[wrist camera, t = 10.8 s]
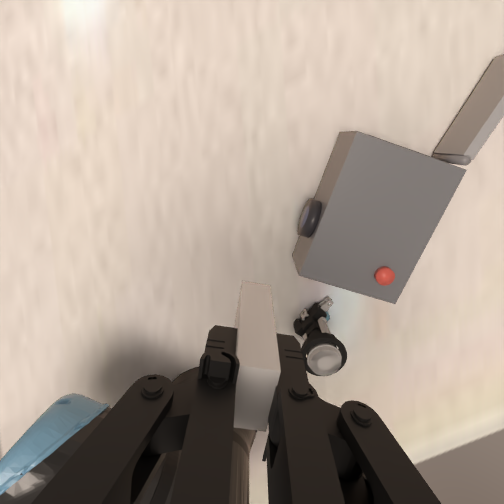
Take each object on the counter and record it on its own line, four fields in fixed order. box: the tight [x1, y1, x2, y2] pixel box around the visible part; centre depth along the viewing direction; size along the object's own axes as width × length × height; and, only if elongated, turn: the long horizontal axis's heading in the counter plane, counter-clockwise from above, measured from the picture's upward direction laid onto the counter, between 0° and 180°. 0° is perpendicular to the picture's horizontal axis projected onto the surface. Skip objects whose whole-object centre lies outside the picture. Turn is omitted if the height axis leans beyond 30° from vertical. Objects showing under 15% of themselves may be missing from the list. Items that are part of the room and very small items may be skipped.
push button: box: [294, 297, 347, 376], centre depth 40 cm, size 7×5×10 cm
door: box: [432, 54, 504, 165], centre depth 33 cm, size 2×12×6 cm, turn 154°
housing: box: [292, 131, 466, 304], centre depth 37 cm, size 16×13×7 cm
